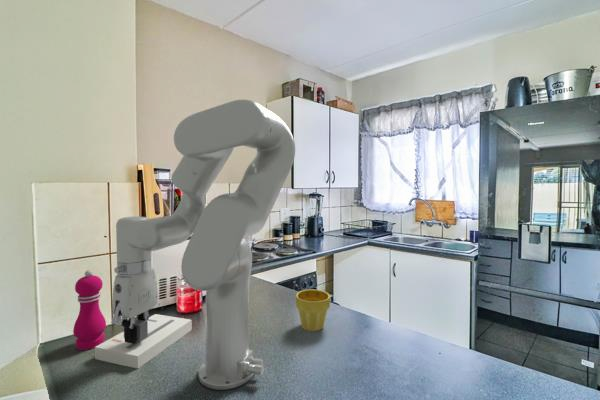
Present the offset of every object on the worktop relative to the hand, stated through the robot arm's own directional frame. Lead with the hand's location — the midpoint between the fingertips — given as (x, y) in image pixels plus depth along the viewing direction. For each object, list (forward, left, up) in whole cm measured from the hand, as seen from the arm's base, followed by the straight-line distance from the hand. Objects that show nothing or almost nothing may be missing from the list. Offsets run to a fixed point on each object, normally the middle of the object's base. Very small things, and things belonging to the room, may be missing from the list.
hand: (135, 338), depth 76 cm
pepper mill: (+16, 0, -4) cm, 16 cm away
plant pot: (-38, -28, -4) cm, 48 cm away
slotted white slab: (+2, -5, -4) cm, 7 cm away
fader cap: (0, 0, -1) cm, 1 cm away
